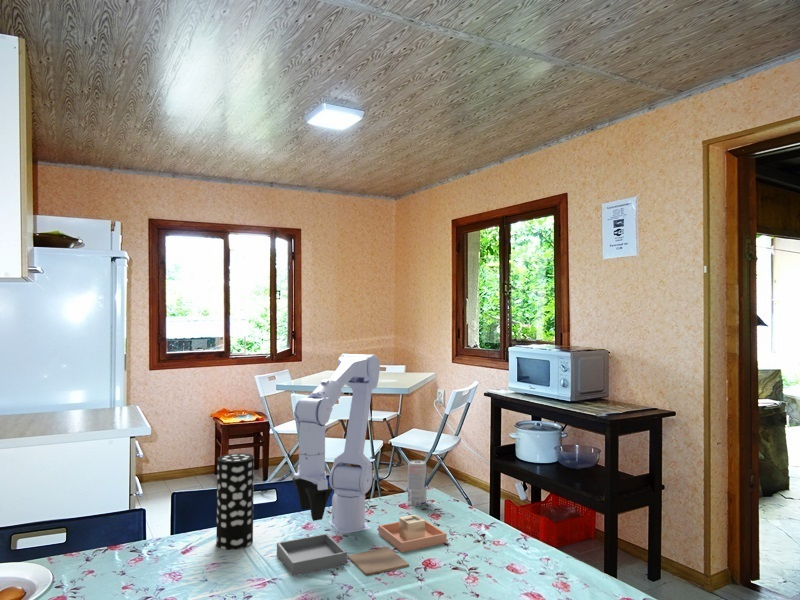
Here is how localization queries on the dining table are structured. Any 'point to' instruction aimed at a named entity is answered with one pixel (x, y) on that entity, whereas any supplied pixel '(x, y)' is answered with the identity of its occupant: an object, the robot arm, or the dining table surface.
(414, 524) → the letter cube
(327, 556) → the charcoal tray
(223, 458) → the spotted tube
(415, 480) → the energy drink
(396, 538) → the terracotta tray
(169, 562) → the dining table surface
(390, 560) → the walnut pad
